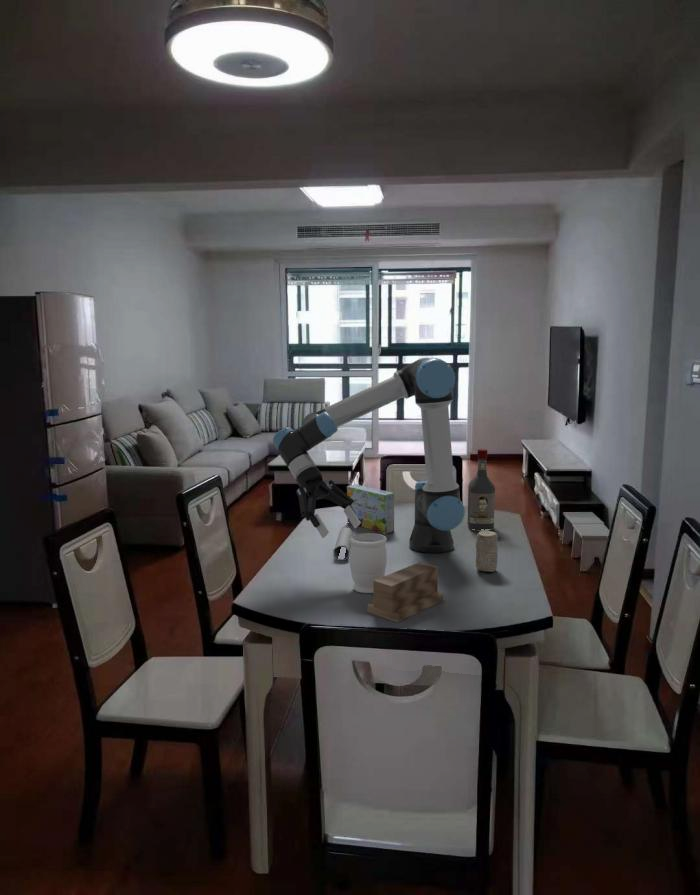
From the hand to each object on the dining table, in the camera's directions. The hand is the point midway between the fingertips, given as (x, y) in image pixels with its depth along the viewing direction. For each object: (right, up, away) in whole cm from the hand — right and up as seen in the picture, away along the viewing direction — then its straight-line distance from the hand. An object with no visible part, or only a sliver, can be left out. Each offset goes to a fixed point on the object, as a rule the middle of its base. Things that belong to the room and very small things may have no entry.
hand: (342, 530), depth 194 cm
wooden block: (+17, -18, -17) cm, 30 cm away
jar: (+7, -16, -4) cm, 18 cm away
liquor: (+52, -7, +59) cm, 79 cm away
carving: (+44, -14, +11) cm, 48 cm away
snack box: (+10, -7, +61) cm, 62 cm away
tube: (0, -11, +34) cm, 36 cm away
